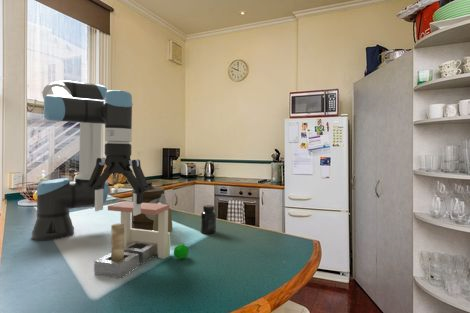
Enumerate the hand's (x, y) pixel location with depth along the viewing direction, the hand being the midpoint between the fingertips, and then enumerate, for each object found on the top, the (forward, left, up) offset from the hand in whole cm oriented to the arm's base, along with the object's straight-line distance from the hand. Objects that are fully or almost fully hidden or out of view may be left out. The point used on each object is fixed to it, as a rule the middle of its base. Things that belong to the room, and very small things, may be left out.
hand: (117, 212), depth 89 cm
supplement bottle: (+12, +46, -18) cm, 51 cm away
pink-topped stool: (0, +11, -18) cm, 21 cm away
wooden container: (-18, +45, -18) cm, 51 cm away
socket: (0, 0, -18) cm, 18 cm away
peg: (0, 0, -18) cm, 18 cm away
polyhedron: (+14, +15, -18) cm, 27 cm away
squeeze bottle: (-4, +34, -18) cm, 39 cm away
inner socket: (0, +11, -18) cm, 21 cm away
